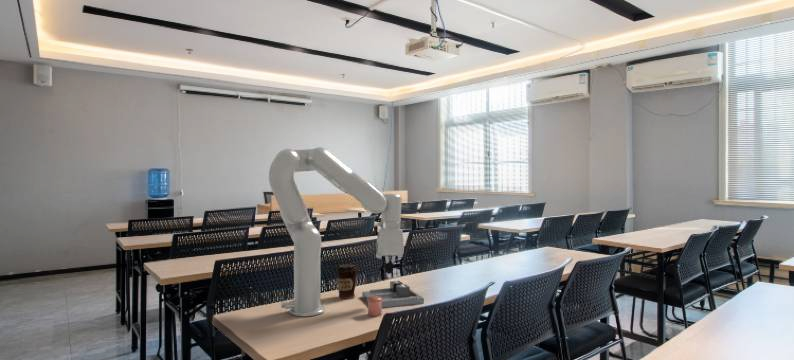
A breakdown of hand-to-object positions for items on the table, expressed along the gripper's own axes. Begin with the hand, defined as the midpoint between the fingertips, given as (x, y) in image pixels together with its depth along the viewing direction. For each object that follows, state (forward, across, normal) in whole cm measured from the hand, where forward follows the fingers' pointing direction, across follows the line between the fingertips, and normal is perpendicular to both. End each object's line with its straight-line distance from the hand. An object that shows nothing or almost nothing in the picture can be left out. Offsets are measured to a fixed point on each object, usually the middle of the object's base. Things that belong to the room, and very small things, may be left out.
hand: (388, 272), depth 173 cm
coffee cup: (+13, -12, +14) cm, 23 cm away
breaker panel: (+12, +4, +4) cm, 13 cm away
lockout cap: (+12, -8, -11) cm, 19 cm away
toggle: (+9, +6, 0) cm, 11 cm away
